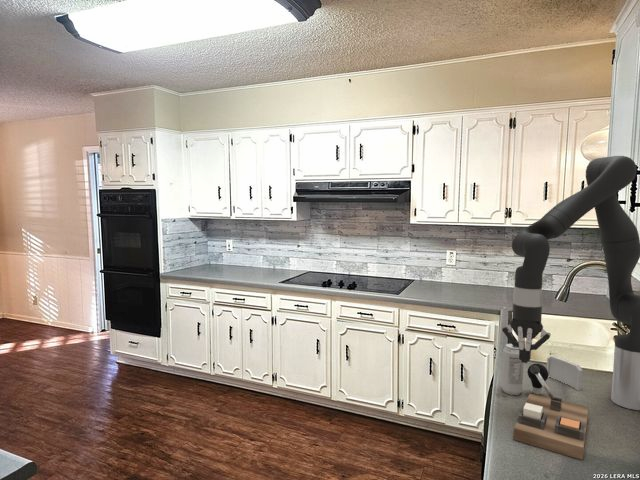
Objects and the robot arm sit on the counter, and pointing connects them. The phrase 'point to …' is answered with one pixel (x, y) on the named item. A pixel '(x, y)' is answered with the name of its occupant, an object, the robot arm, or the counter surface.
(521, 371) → the energy drink can
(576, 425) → the orange button
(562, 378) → the light switch
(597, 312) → the counter surface
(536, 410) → the cream button
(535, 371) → the steel lever
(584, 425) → the control panel
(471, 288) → the counter surface
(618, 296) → the robot arm
